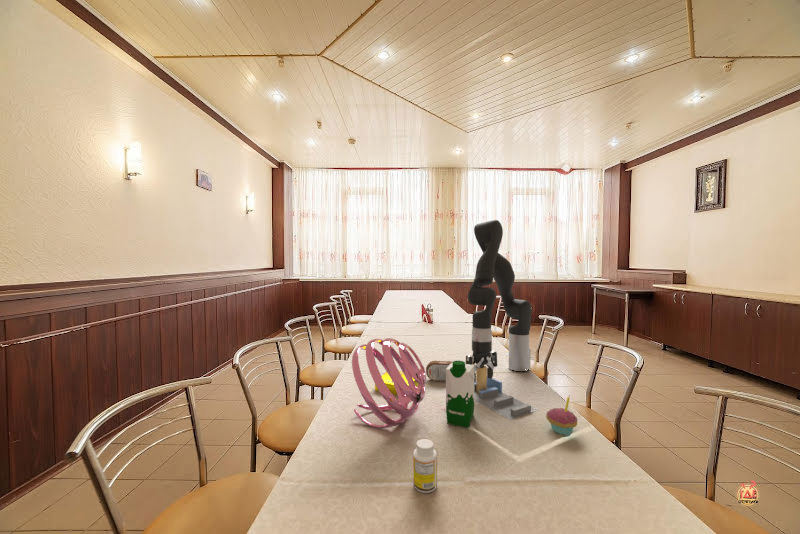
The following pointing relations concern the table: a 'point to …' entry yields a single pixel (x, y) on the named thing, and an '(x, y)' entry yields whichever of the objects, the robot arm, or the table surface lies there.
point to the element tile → (390, 383)
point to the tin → (437, 370)
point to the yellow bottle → (481, 378)
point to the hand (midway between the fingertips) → (481, 380)
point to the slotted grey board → (501, 401)
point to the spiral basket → (403, 389)
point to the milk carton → (459, 393)
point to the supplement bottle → (425, 466)
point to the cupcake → (562, 419)
